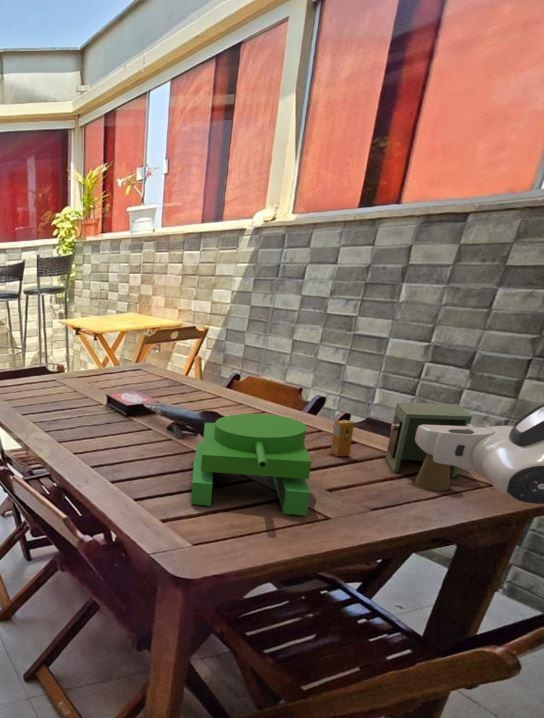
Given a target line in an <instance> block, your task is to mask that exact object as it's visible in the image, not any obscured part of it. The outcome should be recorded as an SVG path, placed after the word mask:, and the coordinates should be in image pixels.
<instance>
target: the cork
mask: <svg viewBox="0 0 544 718" xmlns="http://www.w3.org/2000/svg"><path fill="white" fill-rule="evenodd" d="M426 454H427V455H426V458H425V460H424V461H422V464H421V467H420V469H419V471H418V474H417V476H416V479H415V481H414V484H415V485H416V486H417V487H419V488H422V489H426V490H430V491H447V490H449V489H450V480H451V479H450V478H451V475H450V465H445V464H440V463H436V462H434V461H433V455H430V454H428V453H426Z"/></svg>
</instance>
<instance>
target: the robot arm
mask: <svg viewBox="0 0 544 718" xmlns="http://www.w3.org/2000/svg"><path fill="white" fill-rule="evenodd" d="M415 442H416V443H417V445H418V446H419V447H420V448H421V449H422V450H423V451H424V452H426V453H428V454H430V455H433V461H434V462H436V463H440V464H445V465H451V466H456V467H459V468H461V469H462V468H463V469H466V470H469V471H473V472H475V473H480V474H482V475H483V476H484V478H485V479H486V480H487V481H488V482H489V483H490V484H491V485H492V486H493V487H494V488H495V489H497V490H498V491H500V493H502V494H503V495H505V496H506V497H509V498H511V499H513V500H515V501H518V502H521V503H526V504H532V505H544V403H542V404H541V405H539V406H537V407H536V408H534V409H532V410H531V411H529V412H528V413H527V414H525V415H523V417H521V418H520V419H519V420H518V421H517V422H516V423H514V425H494V426H490V425H489V424H483V423H482V424H480V423H478V424H477V423H470V424H467V426H447V425H420V426H418V428H417V431H416V436H415Z"/></svg>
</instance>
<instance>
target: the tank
mask: <svg viewBox="0 0 544 718" xmlns="http://www.w3.org/2000/svg"><path fill="white" fill-rule="evenodd" d="M306 433H307V425H306V424H305V423H304V422H302V421H300V420H297V419H295V418H291V417H288V416H284V415H283V416H282V415H276V414H268V413H266V414H265V413H237V414H231V415H226V416H222V417H219V418H217V420H216V421H214V422H204V428H203V442H202V441H198V442H196V445H195V446H196V447H195V454H194V460H193V464H192V480H191V481H192V482H191V493H190V496H191V497H190V505H198V506H208V507H209V506H210V507H211V506H212V495H213V482H214V481H213V479H214V473H221V474H233V475H235V474H236V475H245V476H246V475H247V476H259V477H260V476H262V477H271V478H272V480H273V483H274V487H275V490H276V494H277V497H278V501H279V503H280V506H281V510H282V514H284V515H293V516H294V515H295V516H304V517H306V516H308V509H309V502H310V495H311V491H310V489H309V486H308V483H307V480H309V479H310V473H311V466H312V459H311V457H310V455H309V452H308V449H307V447H306V445H305V440H306V435H307V434H306Z"/></svg>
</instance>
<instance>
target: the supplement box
mask: <svg viewBox="0 0 544 718" xmlns="http://www.w3.org/2000/svg"><path fill="white" fill-rule="evenodd" d="M354 426H355V423H354V422H353V421H350V420H348V419H343V420H334V423H333V431H332V438H331V447H330V454H331V455H333V456H334V457H336V458H337V457H349V456H350V452H351V445H352V439H353V433H354Z"/></svg>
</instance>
